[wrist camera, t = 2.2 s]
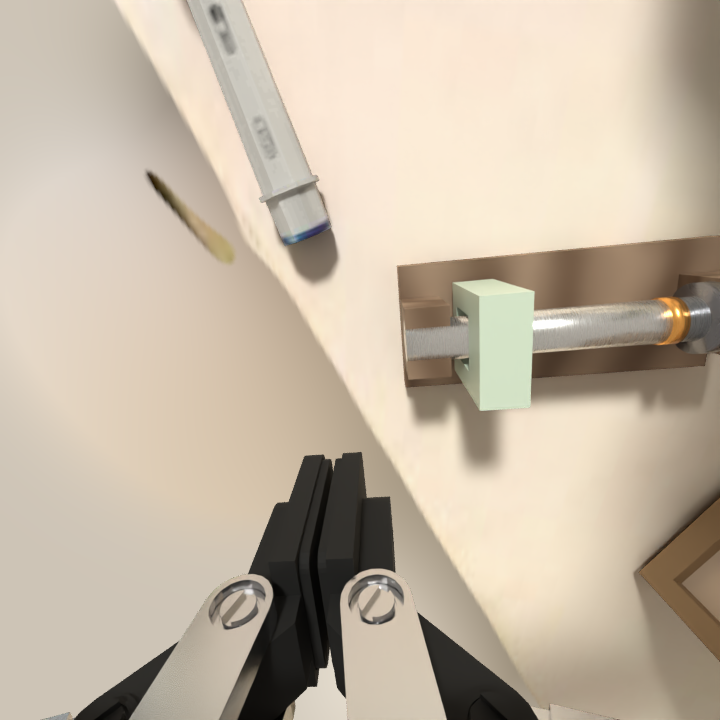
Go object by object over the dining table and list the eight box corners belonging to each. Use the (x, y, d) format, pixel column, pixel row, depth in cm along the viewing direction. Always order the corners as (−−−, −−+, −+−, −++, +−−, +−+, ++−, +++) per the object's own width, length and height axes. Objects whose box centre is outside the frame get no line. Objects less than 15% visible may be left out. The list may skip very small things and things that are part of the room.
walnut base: (404, 381, 34) (410, 412, 27) (397, 265, 31) (401, 271, 25) (690, 360, 32) (765, 388, 26) (710, 236, 29) (800, 233, 23)
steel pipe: (405, 363, 30) (410, 385, 25) (401, 303, 29) (405, 314, 24) (728, 339, 28) (796, 357, 24) (740, 273, 27) (815, 279, 22)
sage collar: (454, 369, 31) (479, 410, 23) (452, 282, 29) (479, 296, 21) (492, 366, 31) (530, 407, 23) (492, 278, 29) (534, 291, 21)
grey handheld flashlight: (271, 252, 27) (39, -266, 18) (287, 240, 33) (121, -150, 24) (339, 226, 27) (135, -330, 17) (342, 219, 33) (194, -193, 23)
